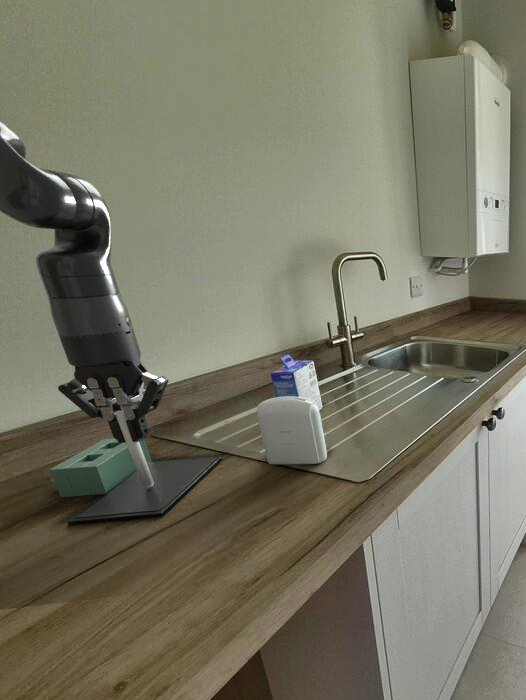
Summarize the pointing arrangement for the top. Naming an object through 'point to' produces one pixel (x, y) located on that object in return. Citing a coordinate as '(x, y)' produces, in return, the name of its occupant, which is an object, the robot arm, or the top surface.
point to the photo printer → (291, 430)
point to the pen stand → (96, 469)
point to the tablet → (147, 492)
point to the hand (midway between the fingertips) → (133, 439)
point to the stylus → (135, 453)
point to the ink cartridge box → (296, 380)
